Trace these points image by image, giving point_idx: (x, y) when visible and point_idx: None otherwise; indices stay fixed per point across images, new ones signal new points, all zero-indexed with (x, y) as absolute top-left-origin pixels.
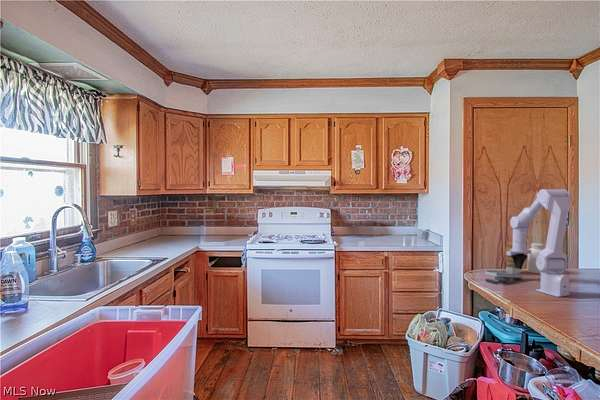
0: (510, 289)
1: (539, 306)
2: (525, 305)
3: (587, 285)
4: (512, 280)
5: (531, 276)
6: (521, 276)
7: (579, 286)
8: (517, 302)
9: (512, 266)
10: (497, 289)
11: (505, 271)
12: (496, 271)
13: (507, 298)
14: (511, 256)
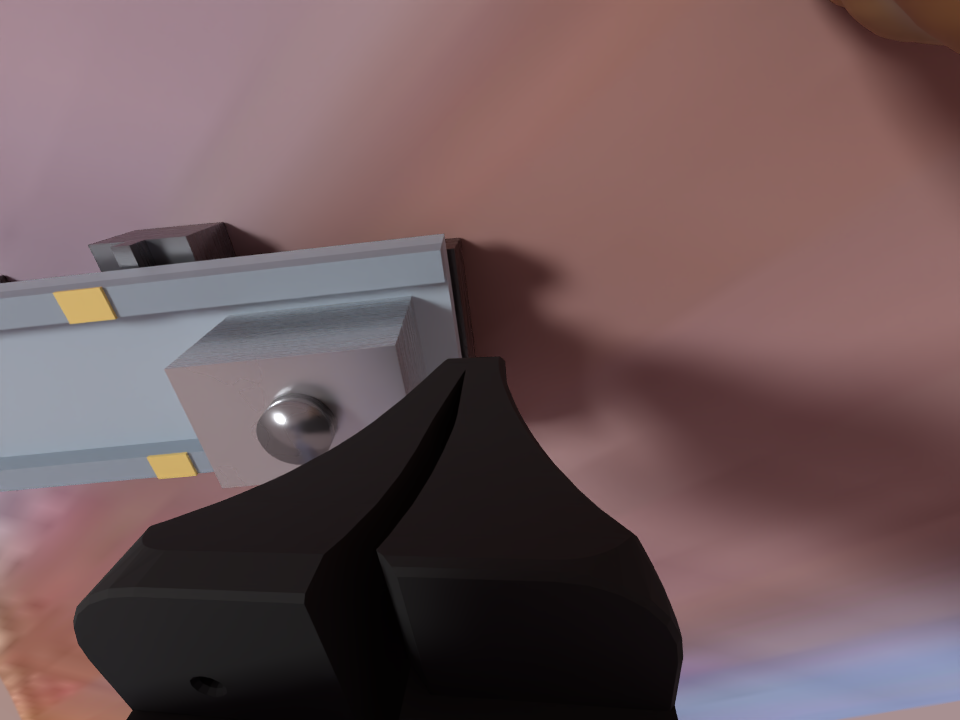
0: (121, 532)
1: (125, 715)
2: (59, 691)
3: (947, 674)
4: None
5: (868, 262)
6: None
7: (824, 663)
8: (37, 664)
9: (293, 421)
10: (7, 501)
11: (234, 304)
12: (11, 323)
13: (5, 621)
14: (185, 531)
